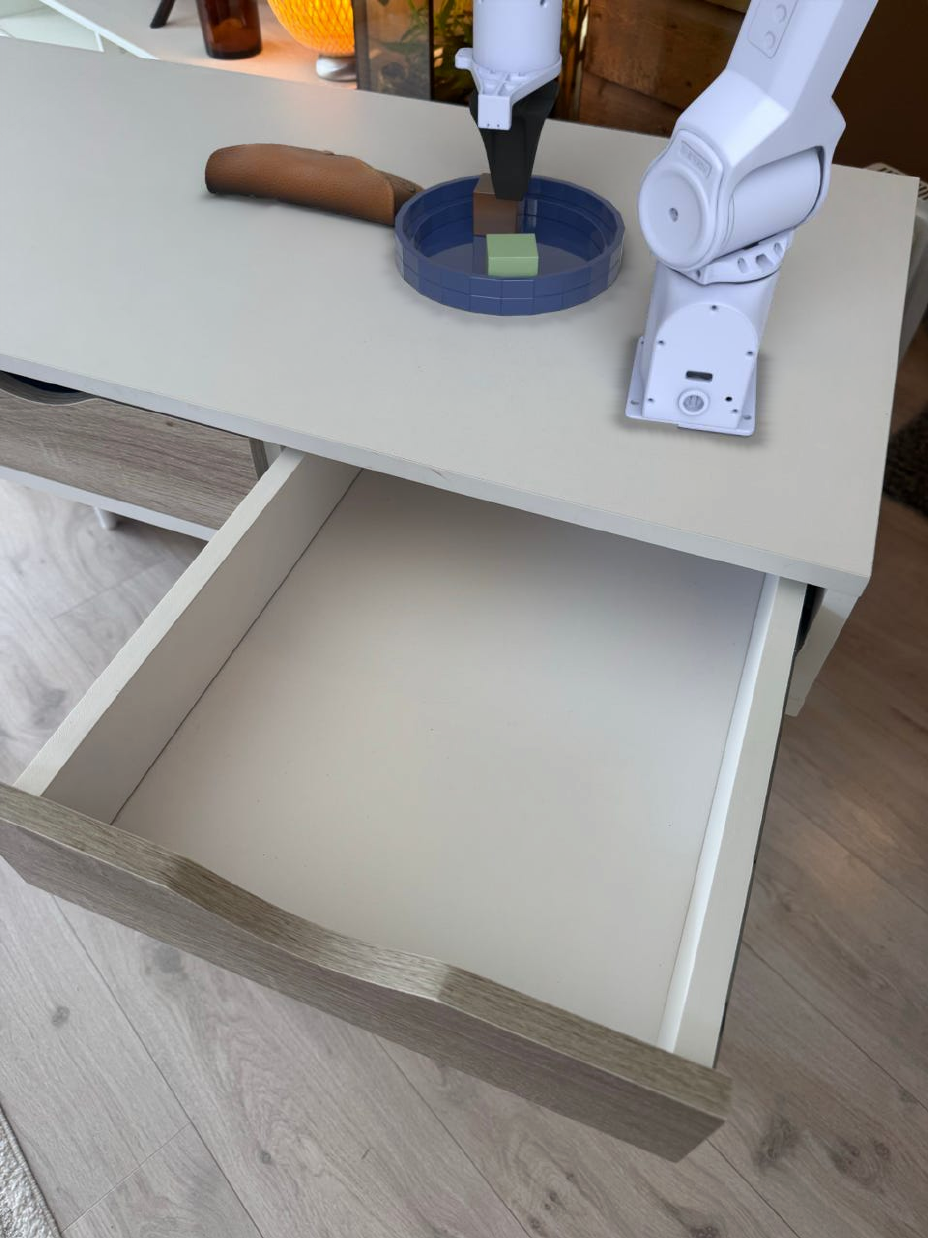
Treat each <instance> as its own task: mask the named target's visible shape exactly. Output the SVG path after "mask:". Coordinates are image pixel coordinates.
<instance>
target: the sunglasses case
mask: <svg viewBox="0 0 928 1238" xmlns="http://www.w3.org/2000/svg"><path fill="white" fill-rule="evenodd" d="M204 184H205V188H206V190H207V191H208V192H209V193H210V194H213V195H216V194H226V195H230V196H231V195H233V196H241V197H253V198H254V197H255V198H258V199H274V200H277V201H279V202H282V203H283V202H284V203H289V204H291V205H292V204H293V205H296V206H301V207H306V208H313V209H320V210H322V211H326V212H330V213H334V214H338V215H345V216H349V217H355V218H359V219H363V220H368V221H373V222H377V223H380V224H382V225H383V224H384V225H388V226H393V227H394V228H395V218H396V216H397V214H398V212H399V211H400V209H401V207H402V206H403V204H404V203H406V202H407V201H408V200H409V199H411V198H412V197H413V196H414V195H416V194H417V193H419V192H421V191H423V190H425V189H426V188H424V187H422V186H421V185H419V184H418V183H416V182H413V181H411V180H409V179H407V178H404V177H401V176H399V175H395V174H393V173H390V172H387V171H383V170H380V169H376V168H375V167H373V166H372V165H370V164H369V163H367V162H365V161H364V160H362V159H360V158H357V157H355V156H351V155H345V154H336V153H334V152H333V151H331V150H327V149H325V150H324V149H323V150H318V149H314V148H313V149H312V148H307V147H300V146H294V145H288V144H284V143H283V144H282V143H281V144H280V143H263V142H262V143H261V142H260V143H242V144H235V145H230V146H225V147H221V148H217V149H215V151H213V152H212V153H211V154H210V155H209V156H208V159H207V161H206V163H205V168H204Z"/></svg>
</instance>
